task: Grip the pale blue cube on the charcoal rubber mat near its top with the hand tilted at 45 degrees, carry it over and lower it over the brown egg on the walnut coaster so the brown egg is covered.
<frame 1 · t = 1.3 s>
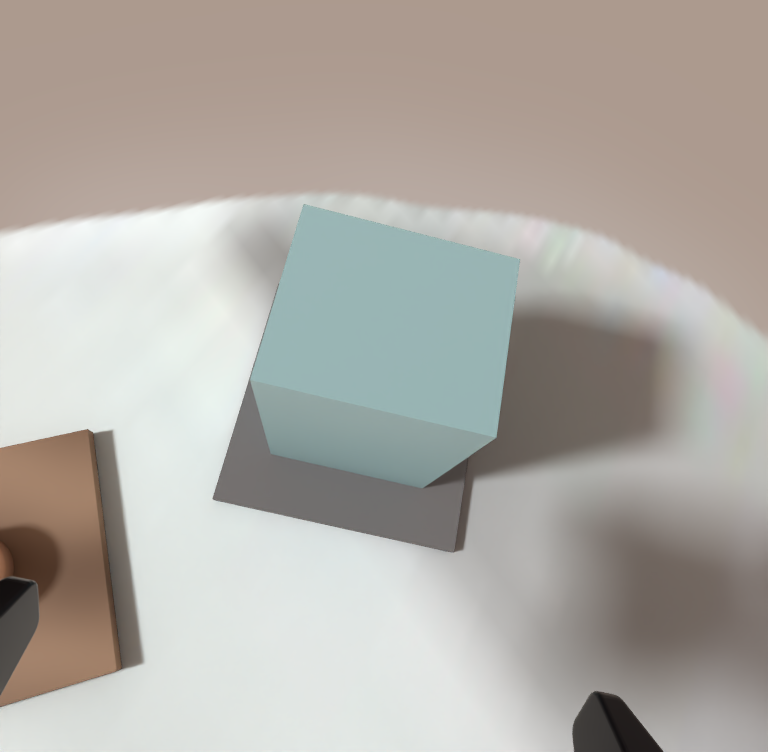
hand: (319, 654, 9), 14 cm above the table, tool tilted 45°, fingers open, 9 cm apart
pale blue cube: (361, 409, 24), resting on mat
mat: (360, 412, 25), on the table
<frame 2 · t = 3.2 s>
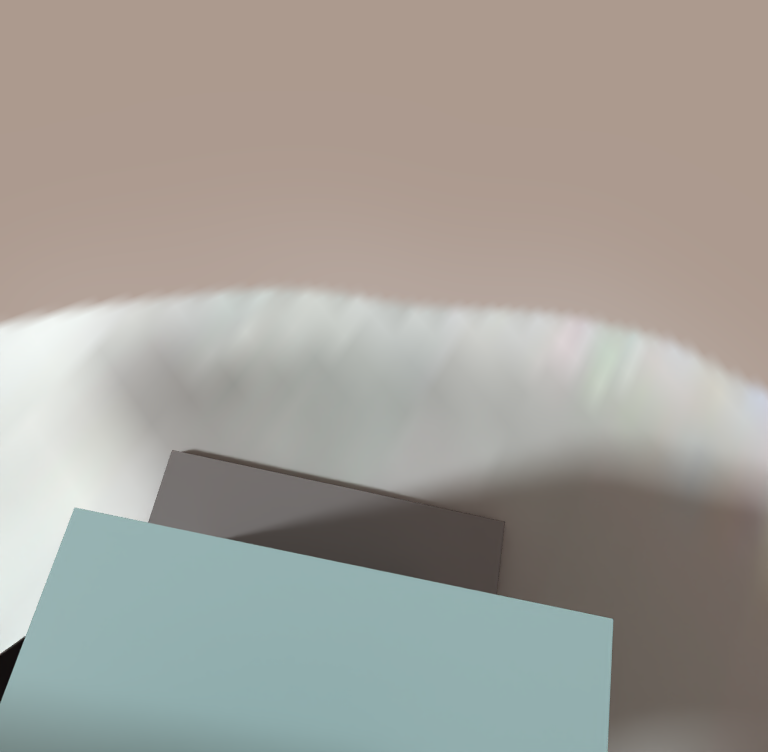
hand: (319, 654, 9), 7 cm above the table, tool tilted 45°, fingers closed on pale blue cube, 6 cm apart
pale blue cube: (300, 674, 15), resting on mat, touching gripper
mat: (300, 671, 15), on the table
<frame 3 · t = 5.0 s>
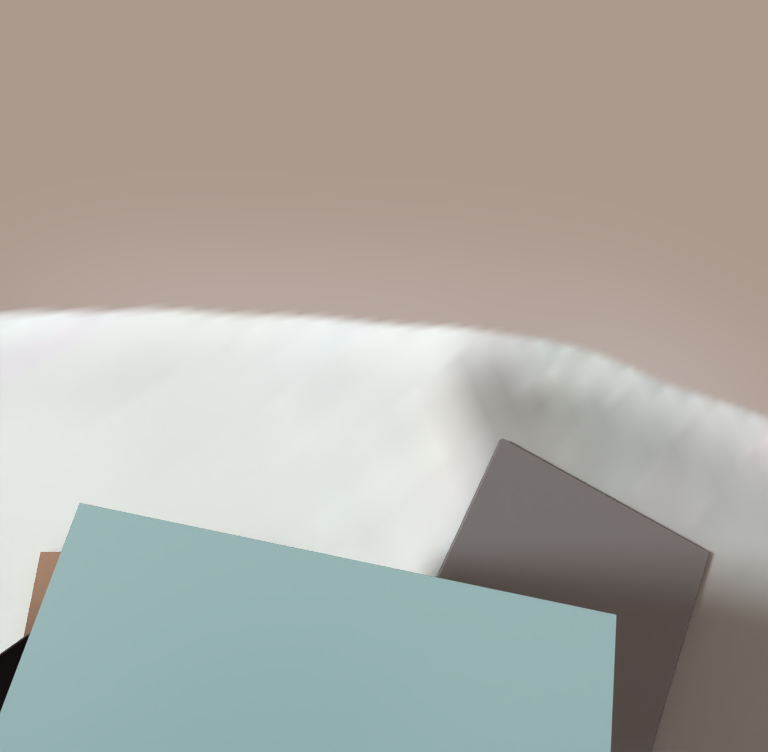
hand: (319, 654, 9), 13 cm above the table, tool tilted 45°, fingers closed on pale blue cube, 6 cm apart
pale blue cube: (302, 672, 15), point 7 cm above the table, touching gripper
mat: (559, 605, 23), on the table
coaster: (155, 686, 20), on the table
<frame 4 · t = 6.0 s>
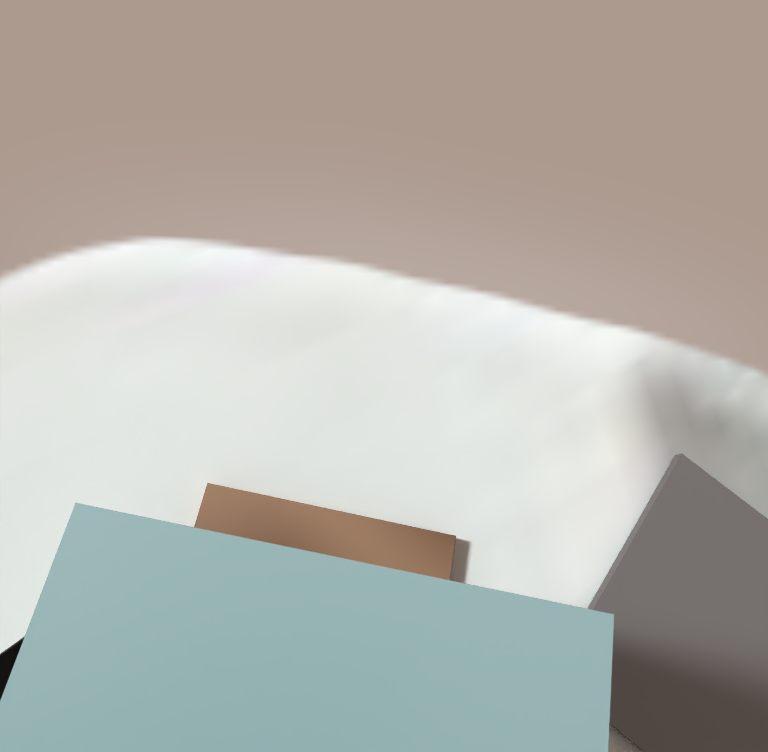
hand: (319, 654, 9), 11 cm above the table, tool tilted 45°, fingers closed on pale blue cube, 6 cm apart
pale blue cube: (301, 672, 15), point 4 cm above the table, touching gripper
mat: (727, 643, 21), on the table
coaster: (303, 645, 19), on the table
when the fingers open (9 cm above the table, at t = 6.9 s): pale blue cube drops 2 cm, resting on coaster.
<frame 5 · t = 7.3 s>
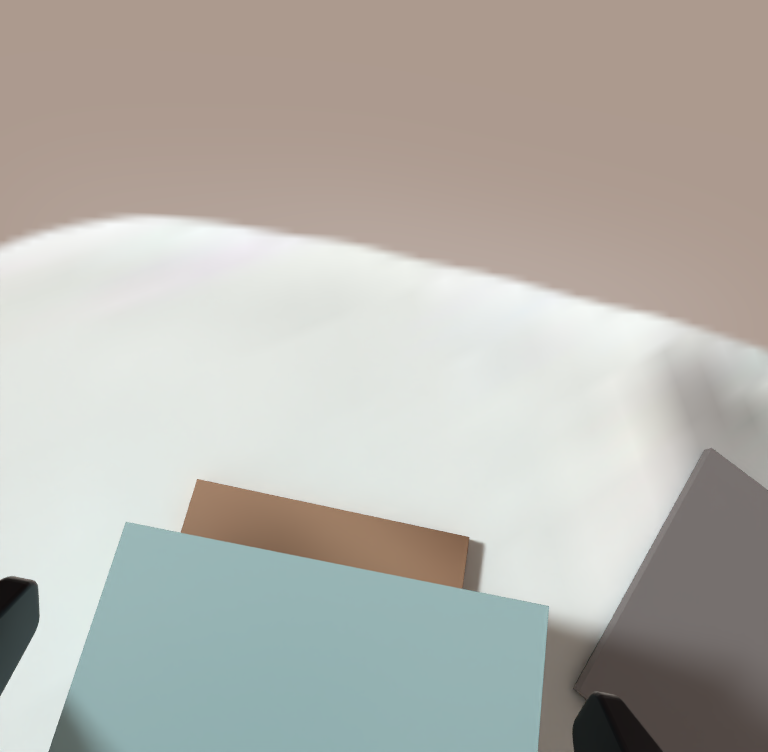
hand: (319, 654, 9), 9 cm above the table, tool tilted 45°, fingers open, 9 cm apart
pale blue cube: (302, 660, 16), point 1 cm above the table, touching coaster
mat: (765, 654, 19), on the table
coaster: (302, 657, 17), on the table
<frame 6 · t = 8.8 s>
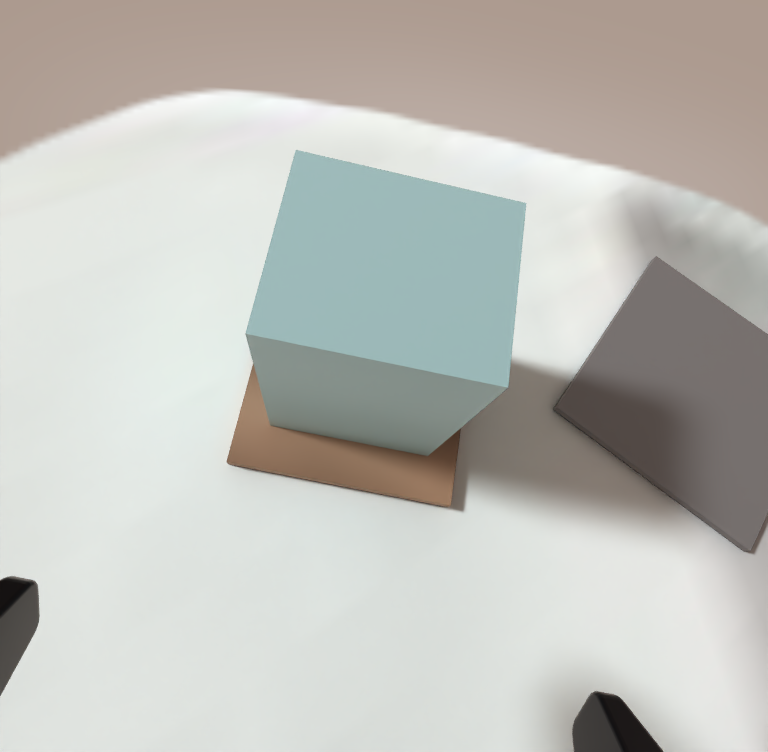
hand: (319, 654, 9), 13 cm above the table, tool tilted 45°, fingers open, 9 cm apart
pale blue cube: (361, 377, 23), point 1 cm above the table, touching coaster
mat: (693, 394, 26), on the table
coaster: (360, 382, 24), on the table
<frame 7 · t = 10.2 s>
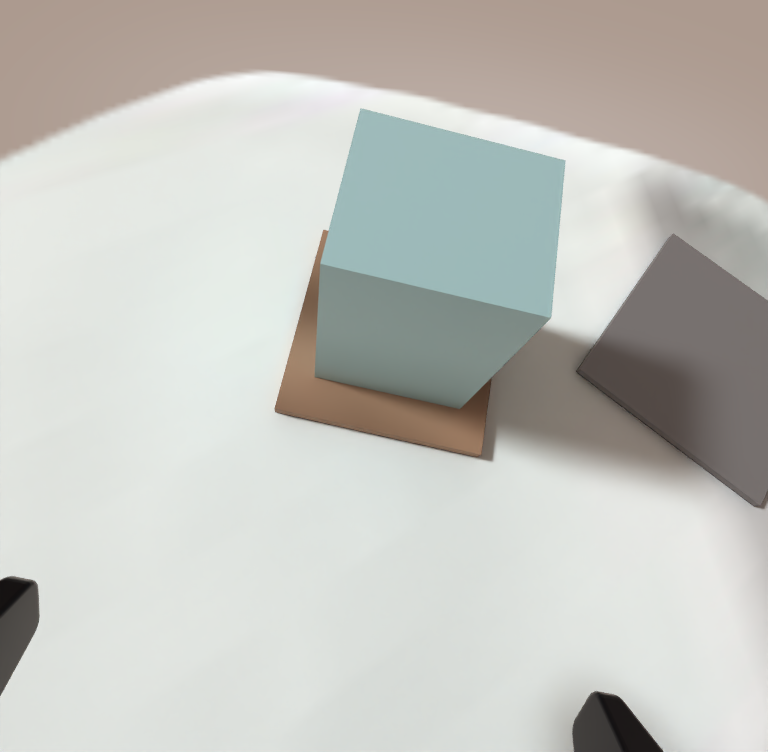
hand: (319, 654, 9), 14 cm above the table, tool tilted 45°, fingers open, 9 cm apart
pale blue cube: (398, 336, 25), point 1 cm above the table, touching coaster
mat: (708, 361, 28), on the table
coaster: (396, 341, 26), on the table
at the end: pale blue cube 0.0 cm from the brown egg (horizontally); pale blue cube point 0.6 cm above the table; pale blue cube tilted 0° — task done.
